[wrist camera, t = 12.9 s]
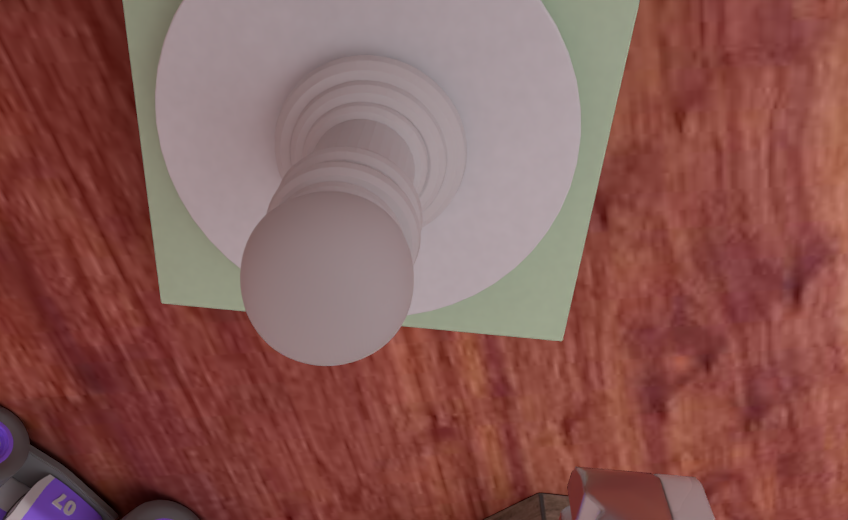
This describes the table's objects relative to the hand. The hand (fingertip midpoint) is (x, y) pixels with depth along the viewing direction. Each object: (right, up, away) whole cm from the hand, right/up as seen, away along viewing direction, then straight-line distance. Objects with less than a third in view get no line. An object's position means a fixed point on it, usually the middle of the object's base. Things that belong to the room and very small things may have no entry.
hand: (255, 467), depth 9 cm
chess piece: (+1, +6, +11) cm, 13 cm away
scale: (+1, +8, +14) cm, 16 cm away
